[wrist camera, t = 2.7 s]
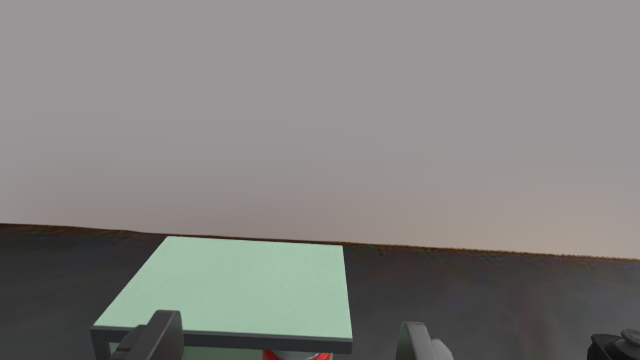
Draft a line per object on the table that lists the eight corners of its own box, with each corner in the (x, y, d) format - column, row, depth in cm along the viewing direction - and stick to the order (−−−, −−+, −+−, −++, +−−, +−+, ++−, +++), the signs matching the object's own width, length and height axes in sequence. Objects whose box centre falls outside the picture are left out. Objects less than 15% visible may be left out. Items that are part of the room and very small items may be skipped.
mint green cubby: (333, 499, 26) (352, 341, 21) (124, 490, 26) (89, 329, 21) (330, 372, 37) (342, 245, 31) (181, 365, 36) (167, 236, 31)
